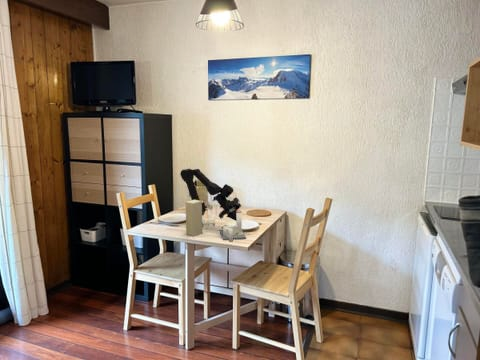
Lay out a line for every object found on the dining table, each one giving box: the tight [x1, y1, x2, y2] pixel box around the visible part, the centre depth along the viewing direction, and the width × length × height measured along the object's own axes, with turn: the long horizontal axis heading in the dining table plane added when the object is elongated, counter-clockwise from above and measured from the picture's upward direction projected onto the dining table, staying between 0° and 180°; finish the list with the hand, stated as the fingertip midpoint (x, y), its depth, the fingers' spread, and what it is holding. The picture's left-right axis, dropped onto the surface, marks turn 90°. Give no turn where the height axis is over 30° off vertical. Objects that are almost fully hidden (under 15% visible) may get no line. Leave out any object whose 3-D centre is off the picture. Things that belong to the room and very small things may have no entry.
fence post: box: [229, 209, 243, 234], centre depth 215 cm, size 8×3×15 cm, turn 119°
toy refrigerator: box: [185, 199, 203, 237], centre depth 218 cm, size 8×7×21 cm
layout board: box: [219, 229, 247, 241], centre depth 217 cm, size 16×14×1 cm
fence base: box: [222, 224, 234, 243], centre depth 210 cm, size 10×4×8 cm, turn 25°
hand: (238, 221), depth 218 cm, fingers closed, pressing on fence post
